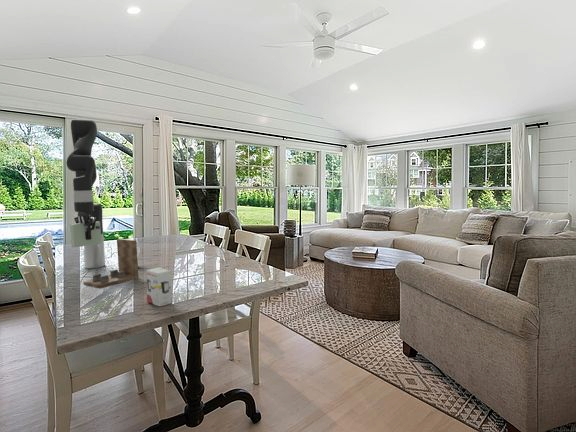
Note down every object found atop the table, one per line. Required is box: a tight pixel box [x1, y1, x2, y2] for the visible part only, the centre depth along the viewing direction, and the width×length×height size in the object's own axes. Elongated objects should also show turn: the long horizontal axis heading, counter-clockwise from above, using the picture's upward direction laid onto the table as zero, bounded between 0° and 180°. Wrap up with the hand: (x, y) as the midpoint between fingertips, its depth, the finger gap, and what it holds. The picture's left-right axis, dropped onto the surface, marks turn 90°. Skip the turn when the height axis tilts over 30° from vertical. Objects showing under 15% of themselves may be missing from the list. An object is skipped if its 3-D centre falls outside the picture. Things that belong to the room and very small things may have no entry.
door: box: [69, 221, 102, 248], centre depth 152 cm, size 3×12×10 cm, turn 150°
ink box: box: [146, 267, 172, 307], centre depth 120 cm, size 9×5×12 cm, turn 50°
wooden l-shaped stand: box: [83, 238, 139, 289], centre depth 150 cm, size 12×18×17 cm, turn 150°
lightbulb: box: [137, 245, 141, 259], centre depth 178 cm, size 6×6×11 cm
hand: (86, 239), depth 152 cm, fingers closed on door, 2 cm apart
